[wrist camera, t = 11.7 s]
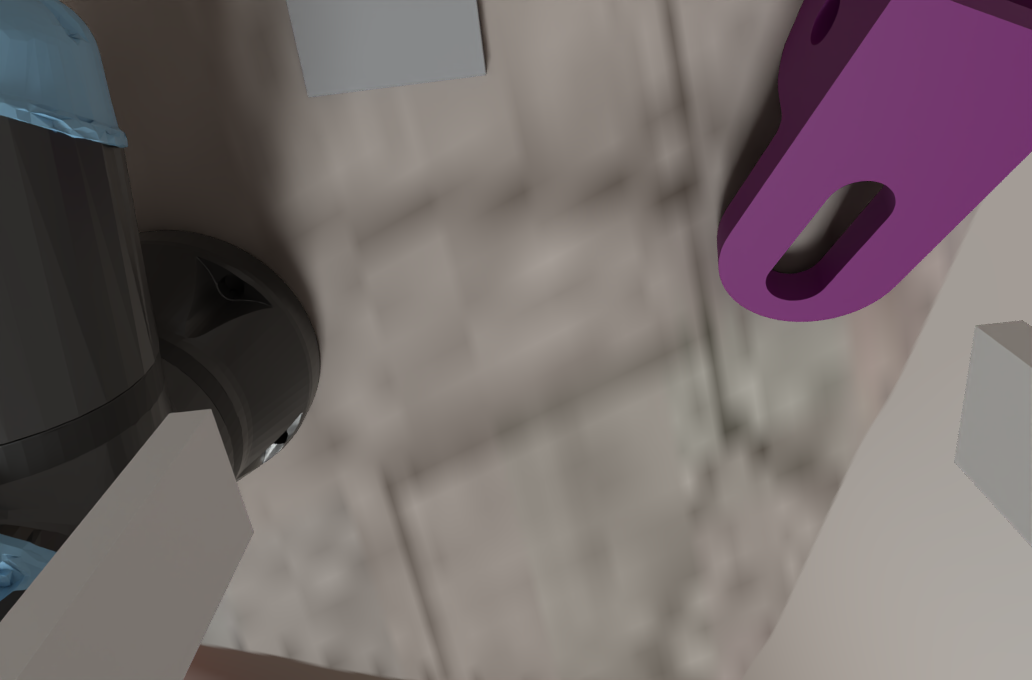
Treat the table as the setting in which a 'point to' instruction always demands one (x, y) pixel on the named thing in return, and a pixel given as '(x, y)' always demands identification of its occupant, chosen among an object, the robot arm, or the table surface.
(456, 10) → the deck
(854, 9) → the mounting bracket
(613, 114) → the table surface
